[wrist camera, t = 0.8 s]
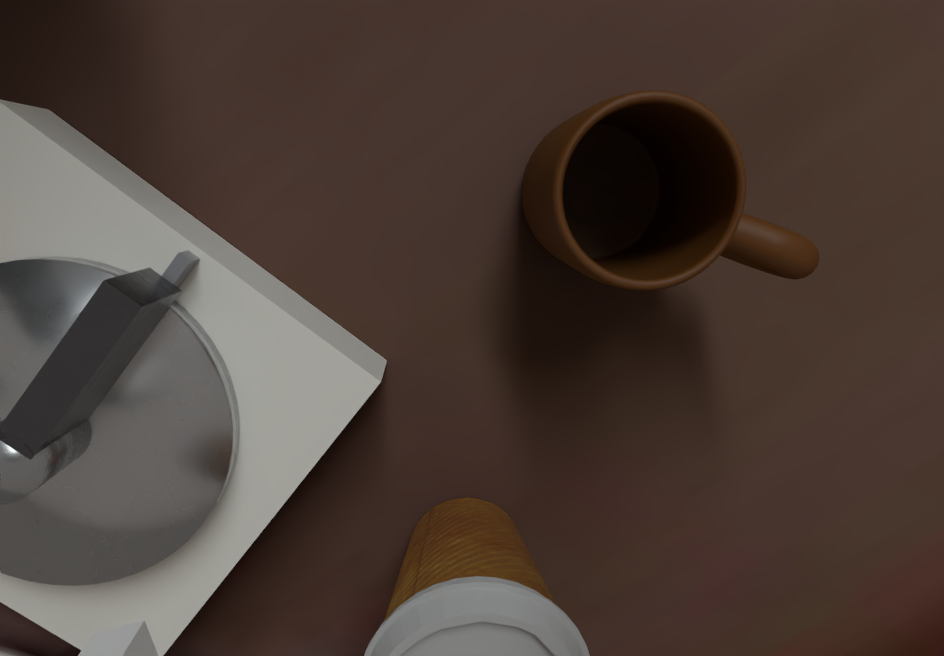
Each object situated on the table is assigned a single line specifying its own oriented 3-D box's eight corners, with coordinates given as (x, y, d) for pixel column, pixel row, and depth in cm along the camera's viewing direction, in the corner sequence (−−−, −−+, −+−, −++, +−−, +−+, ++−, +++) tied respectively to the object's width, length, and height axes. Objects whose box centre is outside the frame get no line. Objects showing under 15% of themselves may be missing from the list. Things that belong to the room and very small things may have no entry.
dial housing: (-164, 427, 34) (-268, 468, 29) (49, 109, 32) (-25, 94, 27) (170, 633, 38) (128, 703, 33) (386, 360, 35) (378, 389, 30)
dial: (123, 624, 33) (63, 707, 28) (-164, 449, 31) (-289, 503, 25) (317, 375, 31) (293, 413, 26) (27, 166, 29) (-66, 160, 23)
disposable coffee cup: (561, 607, 39) (615, 788, 27) (398, 638, 39) (381, 835, 27) (535, 454, 37) (582, 579, 25) (363, 487, 37) (329, 628, 25)
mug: (768, 181, 34) (889, 178, 25) (705, 318, 36) (798, 362, 26) (553, 90, 33) (598, 51, 24) (495, 235, 34) (517, 252, 25)
